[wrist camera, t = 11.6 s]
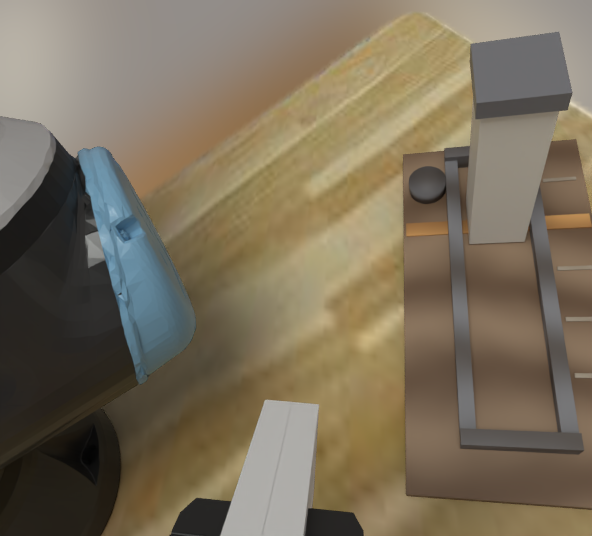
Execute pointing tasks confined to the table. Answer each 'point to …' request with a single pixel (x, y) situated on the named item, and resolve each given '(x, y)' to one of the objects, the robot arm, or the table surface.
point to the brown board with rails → (498, 340)
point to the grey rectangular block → (511, 131)
